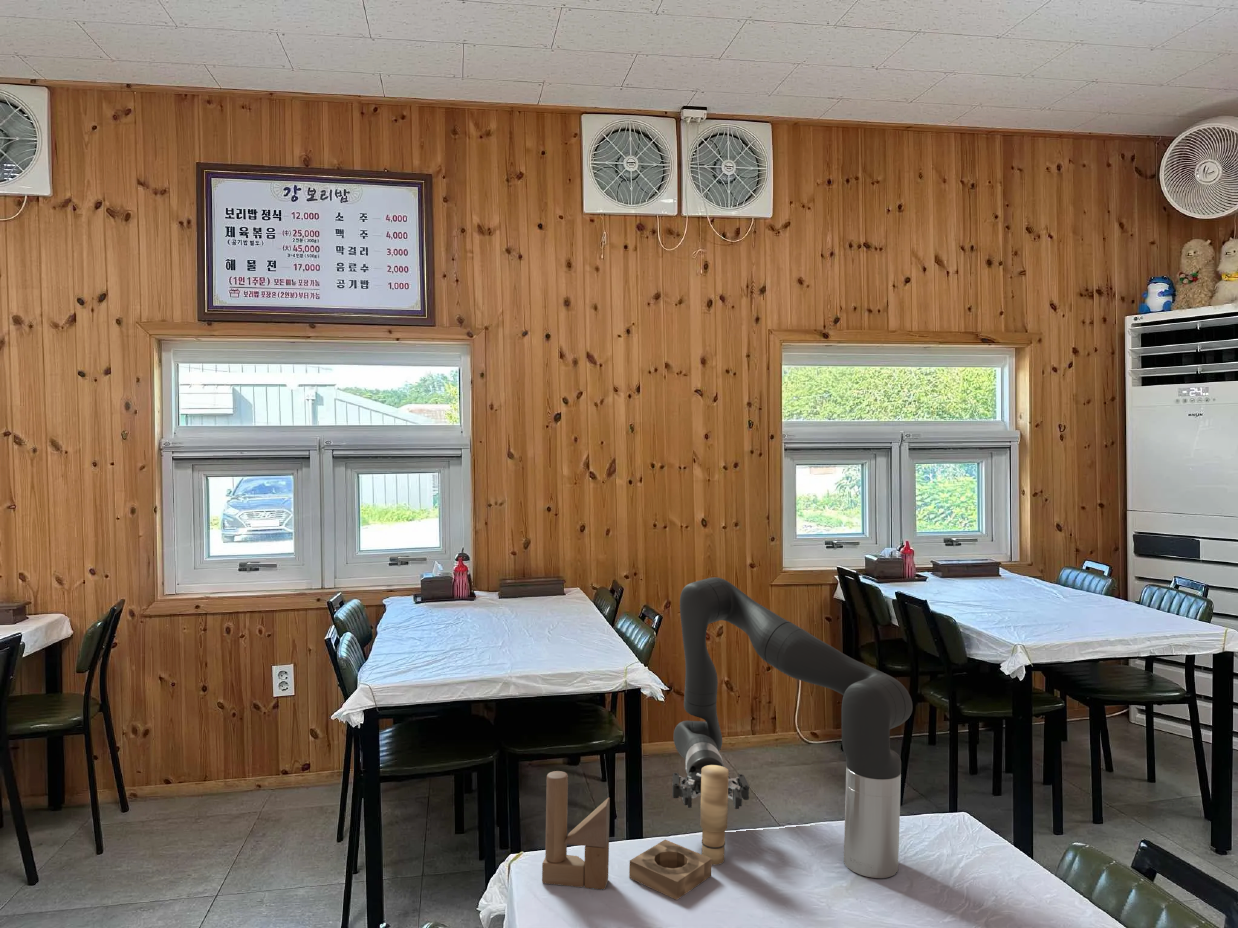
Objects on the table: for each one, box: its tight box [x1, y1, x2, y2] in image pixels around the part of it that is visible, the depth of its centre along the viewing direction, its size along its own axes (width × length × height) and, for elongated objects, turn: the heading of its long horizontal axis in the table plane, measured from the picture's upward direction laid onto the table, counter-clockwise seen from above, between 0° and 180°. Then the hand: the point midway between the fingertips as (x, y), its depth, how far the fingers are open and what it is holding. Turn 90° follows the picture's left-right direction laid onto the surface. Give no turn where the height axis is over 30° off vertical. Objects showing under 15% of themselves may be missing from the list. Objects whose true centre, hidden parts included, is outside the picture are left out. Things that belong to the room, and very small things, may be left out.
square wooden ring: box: [628, 839, 712, 901], centre depth 140 cm, size 10×10×3 cm
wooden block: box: [541, 770, 611, 890], centre depth 138 cm, size 4×11×18 cm, turn 81°
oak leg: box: [699, 765, 730, 866], centre depth 146 cm, size 5×5×16 cm
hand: (713, 803), depth 148 cm, fingers open, 8 cm apart
